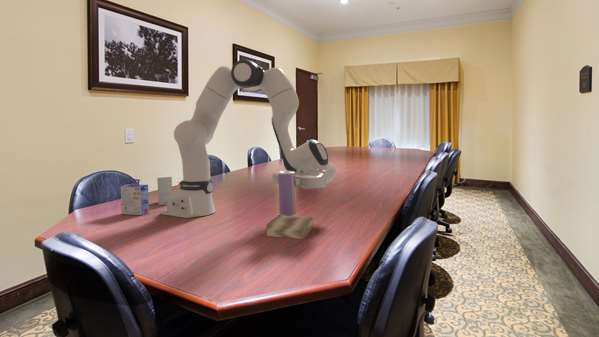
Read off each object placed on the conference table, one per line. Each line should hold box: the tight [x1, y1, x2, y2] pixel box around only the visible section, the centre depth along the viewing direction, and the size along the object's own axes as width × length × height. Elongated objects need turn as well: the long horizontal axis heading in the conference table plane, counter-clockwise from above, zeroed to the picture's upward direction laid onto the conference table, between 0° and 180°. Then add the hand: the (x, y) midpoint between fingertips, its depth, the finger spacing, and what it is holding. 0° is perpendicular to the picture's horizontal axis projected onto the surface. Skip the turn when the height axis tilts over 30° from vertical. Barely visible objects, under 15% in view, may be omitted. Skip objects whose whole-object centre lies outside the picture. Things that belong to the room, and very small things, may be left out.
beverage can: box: [278, 170, 297, 216], centre depth 126 cm, size 6×6×15 cm
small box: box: [156, 174, 173, 206], centre depth 172 cm, size 8×6×13 cm
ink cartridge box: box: [120, 178, 150, 216], centre depth 153 cm, size 10×6×14 cm, turn 79°
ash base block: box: [266, 214, 314, 240], centre depth 127 cm, size 13×13×4 cm
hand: (284, 182), depth 125 cm, fingers closed on beverage can, 2 cm apart
